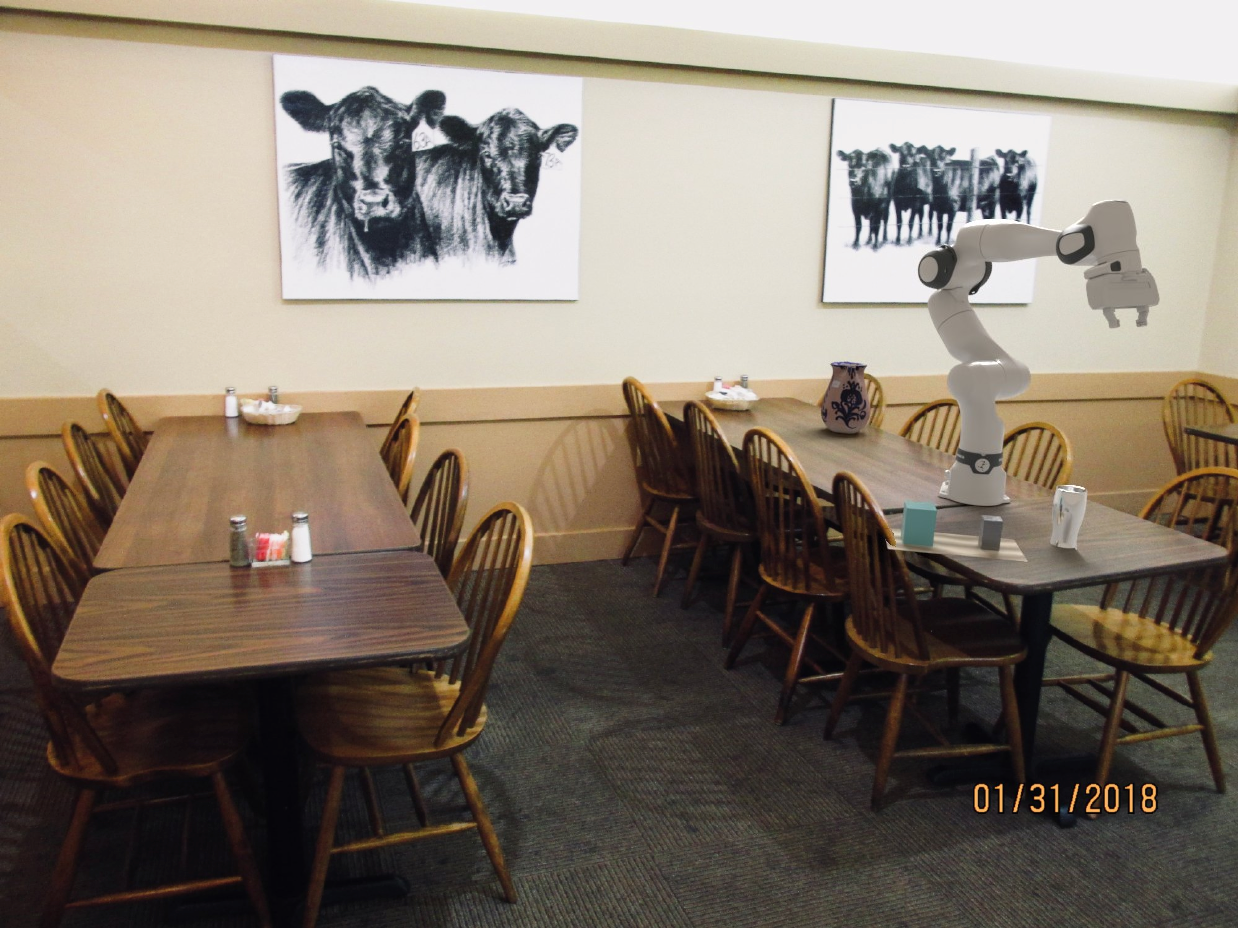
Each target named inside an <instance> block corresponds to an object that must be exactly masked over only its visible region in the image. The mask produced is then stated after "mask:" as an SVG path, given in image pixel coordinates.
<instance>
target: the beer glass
mask: <svg viewBox="0 0 1238 928" xmlns="http://www.w3.org/2000/svg"><path fill="white" fill-rule="evenodd" d="M1087 498H1088V489H1086V488H1084V487H1081V486H1076V485H1070V484H1068V485H1067V484H1060V485H1057V486H1056V488H1055V492H1054V496H1053V502H1052V510H1051V519H1052V534H1051V538H1050V541H1049V543H1050V544H1051V545H1052V546H1056V547H1058V548H1063V549H1075V550H1076V551H1078V550H1077V549H1078V547H1077V546H1078V545H1077V544H1078V543H1077V540H1078V534H1079V531H1080V528H1081V525H1082V523H1083V521H1084V517H1085V514H1086V509H1087Z"/></svg>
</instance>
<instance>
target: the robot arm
mask: <svg viewBox="0 0 1238 928" xmlns="http://www.w3.org/2000/svg"><path fill="white" fill-rule="evenodd" d="M1137 235H1138V232H1137V225H1136V219H1135V215H1134V212H1133V209H1132V206H1131V205H1130V204H1129V202H1128V201H1127V200H1125V199H1124V200H1123V199H1106V200H1101V201H1098V202H1096V203H1093V204H1092V205H1091V207H1090V209H1089V210H1088V212H1087V213H1086V214H1085V215H1084V216H1083V217H1082V218H1080V219H1079V220H1078V221H1077V222H1075V223H1073V224H1072V225H1070V226H1068V227H1066V228H1064V229H1063V230H1056V229H1049V228H1044V227H1040V226H1037V225H1031V224H1028V223H1024V222H1020V221H1016V220H1011V219H1010V220H1009V219H1000V218H998V219H997V218H994V219H993V218H990V219H981V220H980V219H979V220H975V221H969V222H967V223H965V224H964V225H963V226H962V227H961V228H960V229H959V231H958V232H957V235H956V239H955V242H954V243H952V244H951V245H950V244H947V243H943V244H941V245H940V246H938V247H937V248H935V249H933V250H931V251H929V252H927V253H925V254H924V255H923V256H922V258H920V261H919V263H918V266H917V274H918V275H917V276H918V278H919V281H920V282H921V284H922V285H923V286H925V287H927V288H930V289H933V290H936V291H934V292H933V293H932V294H931V295H930V296H929V297H928V300H927V308H928V309H927V310H928V312H929V317H930V318H931V321H932V323H933V325H934V328H935V330H936V332H937V334H938V336H939V337H940V339H941V341H942V342H943V344H944V346H945V348H946V350H947V352H948V354H950V356H951V357H952V358H954V359H955V360H957V361H959V362H961V363H959V364H956V365H954V366H953V367H952V368H951V369H950V371H949V372H948V375H947V379H946V385H947V390H948V392H949V393H950V395H951V396H952V397H953V398H954V399H955V400H956V402H957V404H958V407H959V412H960V417H961V418H960V419H961V425H960V426H961V427H960V438H959V446H958V447H957V449H956V452H955V453H956V454H955V462H954V463H953V465H952V466H951V467H950V468H949V469H946V470H945V469H944V477H943V478H944V479H946V480H945V481H943V482H942V484H941V486H940V489H939V493H938V497H940V498H945V499H948V500H950V501H951V500H952V501H954V502H957V503H960V504H966V505H973V506H984V507H985V506H986V507H988V506H998V505H1002V504H1008V503H1011V498H1010V497H1009V496H1007V495H1006V494H1005V493H1006V483H1007V472H1006V471H1005V470H1004V469H1003V468H1002V465H1003V460H1004V451H1003V445H1004V436H1005V430H1006V424H1005V422H1004V420H1003V419H1002V418H1001V417H1000V416H998V413H997V409H996V401H997V400H998V401H999V400H1008V399H1012V398H1015V397H1018V396H1019V395H1020V396H1021V395H1022V394H1024V393H1025V392H1026V391H1027V390H1028V389H1029V387H1030V384H1031V381H1032V378H1031V377H1032V376H1031V375H1032V374H1031V371H1030V369H1029V367H1028V366H1027V364H1025V363H1024V362H1022V361H1020V360H1019V359H1016V358H1015V357H1013V356H1012V355H1011V354H1009V353H1008V352H1007V351H1006V350H1004V348H1003V347H1002V346H1000V345H999V344H998V343H997V341H995V340H994V338H992V336H991V335H990V334H989V333H988V331H987V329H986V328H985V327H984V325H983V323H982V322H981V320H980V319H979V317H978V316H977V313H976V312H975V310H974V309H973V307H972V305H971V304H970V301H969V296H973V295H976V294H977V293H978V292H979V290H980V288H982V287H983V286H984V285H985V284H986V283H987V281H988V280H989V279H990V277H991V275H992V271H993V263H1010V262H1016V261H1017V262H1018V261H1023V260H1029V259H1036V258H1044V257H1053V256H1054V257H1058V259H1059V260H1060V262H1061V263H1063V264H1065V265H1069V266H1075V267H1076V266H1077V267H1078V266H1079V267H1080V266H1081V267H1085V266H1089V268H1087V269H1086V270H1084V271H1083V277H1084V279H1085V280H1087V281H1086V283H1085V290H1086V298H1087V303H1088V306H1089V307H1090V309H1092V310H1093V311H1096V310H1099V311H1100V310H1102V315H1103V316H1104V317H1105V319H1106V321H1107V323H1108V327H1109V329H1118V328H1120V327H1121V324H1120V323H1121V320H1120V319H1117V316H1116V314H1115V312H1116V310H1123V309H1125V310H1126V309H1136V313H1138V314H1137V319H1136V320H1135V324H1136V325H1135V326H1136V327H1137V328H1143V327H1147V326H1148V316H1149V313H1150V307H1151V308H1152V307H1154V306H1155V307H1156V306H1158V305H1159V304H1160V294H1159V291H1158V290H1159V289H1158V286H1157V282H1156V279H1155V278H1154V276H1153V274H1152V273H1151V272H1150V271H1149V270H1148V269H1147V268H1145V267H1143V266H1142V258H1141V253H1140V248H1139V246H1138V243H1137ZM1090 266H1091V267H1090ZM947 479H948V480H947Z"/></svg>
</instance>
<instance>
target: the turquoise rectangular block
mask: <svg viewBox="0 0 1238 928" xmlns="http://www.w3.org/2000/svg"><path fill="white" fill-rule="evenodd" d="M903 501H904V502H903V513H902V518H901V519H902V521H901V528H900V529H901V538H902V542H903V544H910V545H921V546H932V547H933V541H934V532H935V531H936V523H937V513H938V509H937V507H936V505H935V502H929V501H928V502H926V501H916V500H915V501H914V500H903ZM935 533H936V532H935Z"/></svg>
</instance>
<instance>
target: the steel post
mask: <svg viewBox="0 0 1238 928" xmlns="http://www.w3.org/2000/svg"><path fill="white" fill-rule="evenodd" d="M1003 525H1004V521H1003V519H1002V518H1001V516H996V515H994V516H993V515H988V514H987V515H986V514H985V515H983V514H981V517H980V525H979V534H978V536H979V540H978V545H979V547H980V549H983V550H994V551H999V549H1000V541H1001V538H1002V533H1003Z"/></svg>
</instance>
